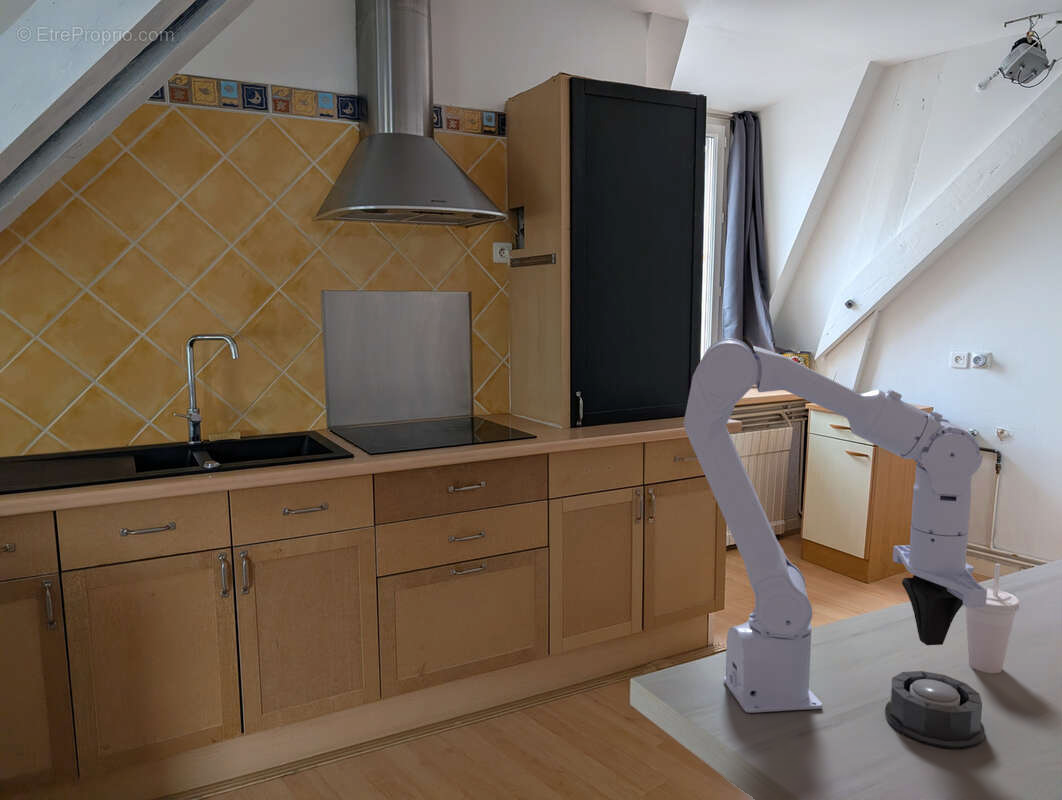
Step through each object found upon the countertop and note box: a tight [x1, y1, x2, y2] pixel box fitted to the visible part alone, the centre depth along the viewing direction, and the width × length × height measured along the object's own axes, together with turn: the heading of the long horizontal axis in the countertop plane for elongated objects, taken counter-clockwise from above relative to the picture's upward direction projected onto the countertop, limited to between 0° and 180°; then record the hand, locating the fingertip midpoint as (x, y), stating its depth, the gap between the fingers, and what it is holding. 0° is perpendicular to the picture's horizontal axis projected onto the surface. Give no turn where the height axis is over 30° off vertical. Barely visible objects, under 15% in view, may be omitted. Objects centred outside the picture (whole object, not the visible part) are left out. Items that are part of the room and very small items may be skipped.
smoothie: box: [964, 563, 1020, 674], centre depth 99 cm, size 6×6×14 cm
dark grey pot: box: [884, 670, 986, 750], centre depth 86 cm, size 10×10×4 cm
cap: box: [910, 679, 960, 706], centre depth 86 cm, size 5×5×4 cm
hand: (931, 642), depth 87 cm, fingers closed
